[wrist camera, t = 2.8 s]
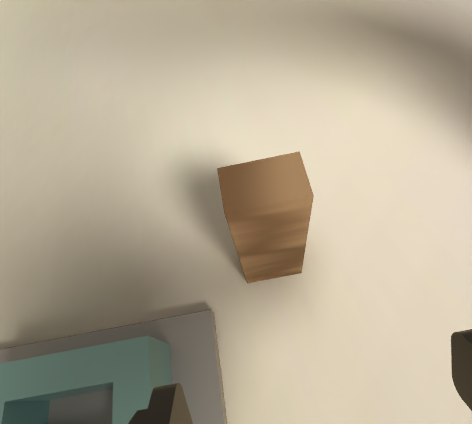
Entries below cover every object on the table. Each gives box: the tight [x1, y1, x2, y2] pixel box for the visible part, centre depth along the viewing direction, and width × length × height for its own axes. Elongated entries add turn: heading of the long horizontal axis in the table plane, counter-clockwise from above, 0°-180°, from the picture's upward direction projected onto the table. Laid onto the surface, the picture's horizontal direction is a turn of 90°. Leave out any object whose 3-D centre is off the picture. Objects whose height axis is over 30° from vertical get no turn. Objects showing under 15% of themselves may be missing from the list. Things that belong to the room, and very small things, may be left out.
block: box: [217, 152, 313, 283], centre depth 20 cm, size 4×2×11 cm, turn 99°
